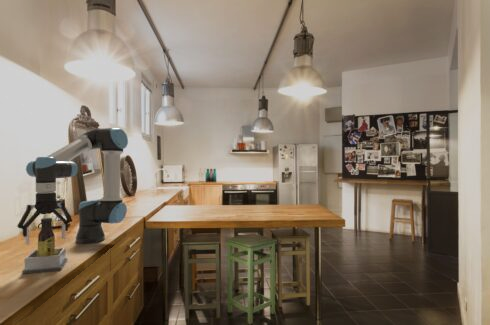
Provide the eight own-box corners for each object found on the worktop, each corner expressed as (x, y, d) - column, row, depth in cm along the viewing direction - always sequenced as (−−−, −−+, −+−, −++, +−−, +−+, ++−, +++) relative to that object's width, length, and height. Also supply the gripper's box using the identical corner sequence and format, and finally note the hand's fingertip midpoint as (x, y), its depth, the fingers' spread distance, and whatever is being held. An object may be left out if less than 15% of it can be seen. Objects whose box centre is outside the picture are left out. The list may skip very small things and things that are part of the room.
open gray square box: (32, 263, 142) (32, 249, 142) (67, 260, 147) (67, 247, 147) (22, 274, 129) (22, 259, 129) (61, 270, 134) (61, 255, 134)
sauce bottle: (50, 266, 135) (49, 219, 135) (34, 266, 135) (34, 220, 134) (57, 261, 142) (57, 217, 141) (42, 261, 141) (42, 217, 141)
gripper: (12, 195, 126) (12, 248, 126) (79, 191, 144) (79, 237, 144) (9, 193, 132) (9, 244, 132) (74, 189, 149) (74, 234, 149)
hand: (46, 241), depth 138 cm, fingers open, 13 cm apart
